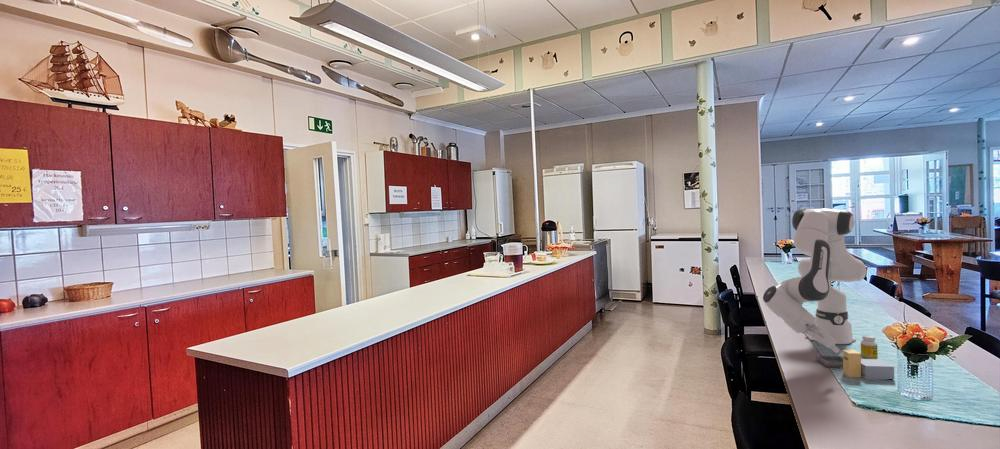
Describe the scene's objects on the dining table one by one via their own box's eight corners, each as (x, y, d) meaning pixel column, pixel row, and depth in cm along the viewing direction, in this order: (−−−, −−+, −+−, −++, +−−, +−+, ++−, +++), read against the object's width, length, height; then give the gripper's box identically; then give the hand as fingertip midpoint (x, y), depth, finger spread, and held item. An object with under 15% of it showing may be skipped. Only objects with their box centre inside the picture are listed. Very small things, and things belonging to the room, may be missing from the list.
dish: (817, 360, 187) (816, 355, 187) (840, 360, 185) (840, 356, 185) (827, 367, 178) (827, 362, 178) (852, 368, 177) (852, 363, 177)
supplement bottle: (863, 356, 189) (863, 333, 189) (879, 359, 185) (879, 336, 184) (858, 359, 186) (858, 336, 186) (874, 362, 182) (874, 339, 181)
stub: (842, 373, 172) (842, 349, 172) (855, 373, 171) (854, 350, 171) (848, 377, 168) (848, 353, 168) (861, 377, 168) (860, 353, 167)
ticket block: (853, 371, 173) (853, 358, 173) (880, 372, 171) (880, 359, 171) (865, 379, 166) (865, 365, 165) (894, 380, 164) (894, 366, 164)
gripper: (821, 322, 162) (852, 350, 160) (796, 309, 182) (824, 334, 180) (807, 334, 163) (838, 362, 162) (784, 320, 183) (812, 344, 182)
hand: (830, 347), depth 171 cm, fingers open, 8 cm apart
